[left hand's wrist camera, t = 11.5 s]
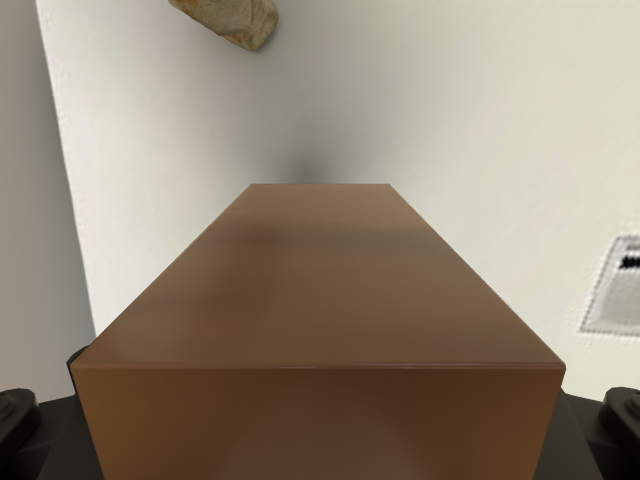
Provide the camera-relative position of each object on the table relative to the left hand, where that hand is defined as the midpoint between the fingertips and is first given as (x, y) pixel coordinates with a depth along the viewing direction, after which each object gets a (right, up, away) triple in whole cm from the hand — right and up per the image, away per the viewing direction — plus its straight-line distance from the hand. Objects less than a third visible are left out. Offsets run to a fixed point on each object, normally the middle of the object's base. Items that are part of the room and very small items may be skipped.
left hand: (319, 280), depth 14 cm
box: (0, -9, +6) cm, 10 cm away
